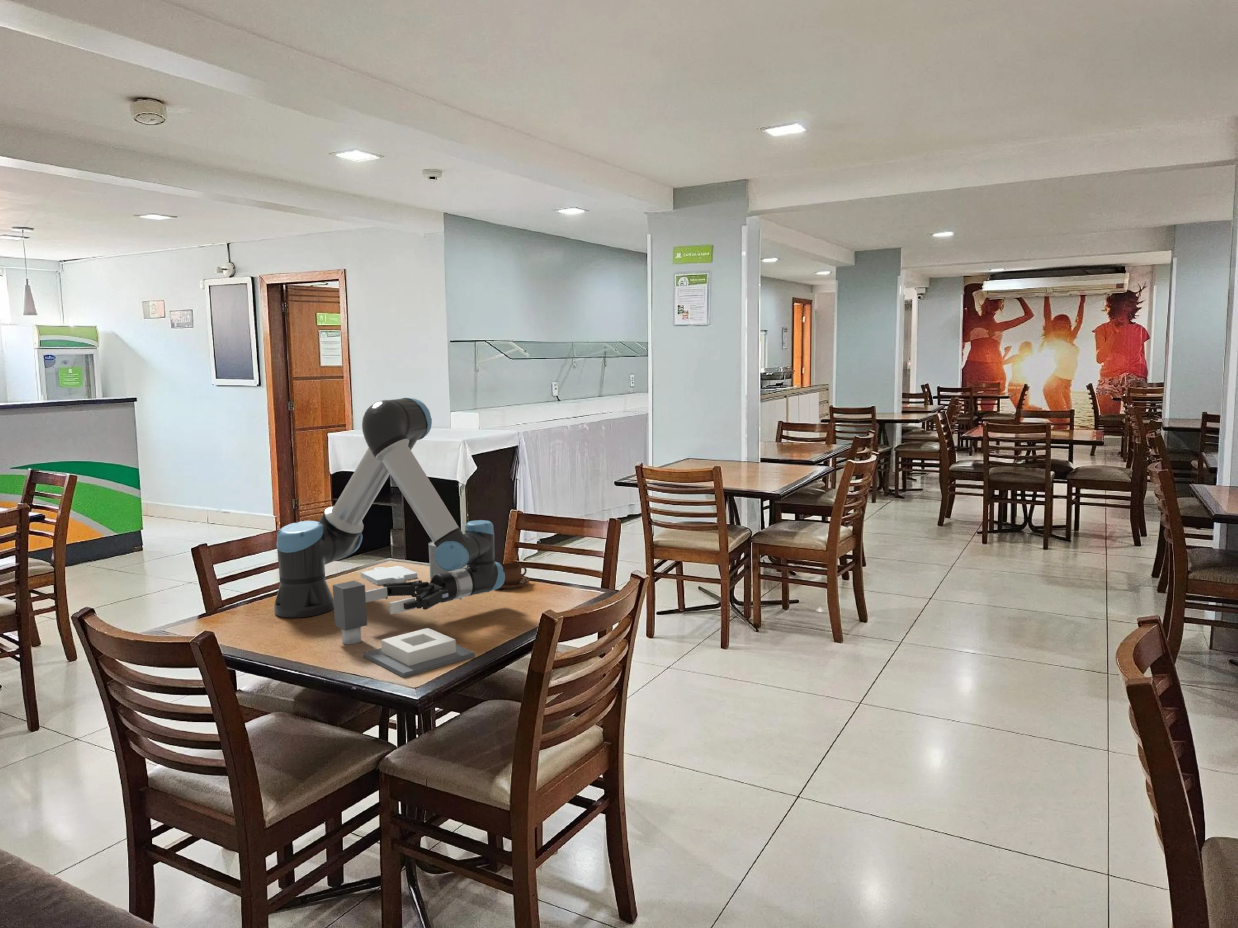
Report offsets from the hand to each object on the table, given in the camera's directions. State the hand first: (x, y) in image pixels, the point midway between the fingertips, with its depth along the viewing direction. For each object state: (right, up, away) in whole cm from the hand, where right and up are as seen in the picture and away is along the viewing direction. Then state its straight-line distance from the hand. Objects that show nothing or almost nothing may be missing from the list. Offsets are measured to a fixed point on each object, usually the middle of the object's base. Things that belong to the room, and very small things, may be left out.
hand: (376, 602), depth 209 cm
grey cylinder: (+7, -2, +50) cm, 50 cm away
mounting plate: (-12, -2, +57) cm, 58 cm away
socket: (+14, -10, -14) cm, 22 cm away
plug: (-5, -9, -3) cm, 11 cm away
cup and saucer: (+27, -3, +45) cm, 53 cm away
